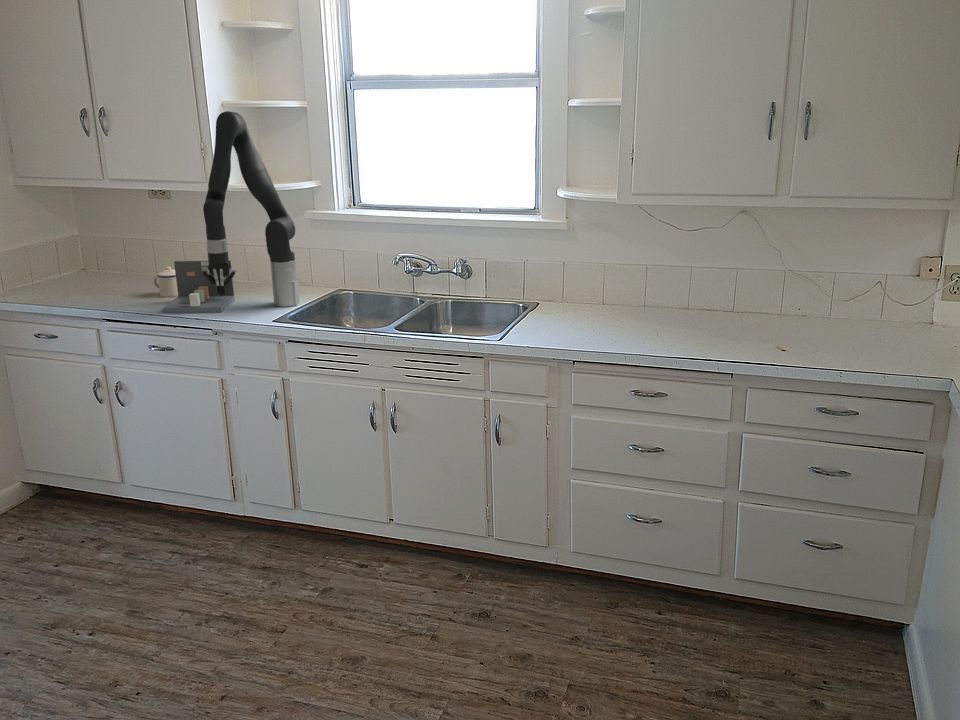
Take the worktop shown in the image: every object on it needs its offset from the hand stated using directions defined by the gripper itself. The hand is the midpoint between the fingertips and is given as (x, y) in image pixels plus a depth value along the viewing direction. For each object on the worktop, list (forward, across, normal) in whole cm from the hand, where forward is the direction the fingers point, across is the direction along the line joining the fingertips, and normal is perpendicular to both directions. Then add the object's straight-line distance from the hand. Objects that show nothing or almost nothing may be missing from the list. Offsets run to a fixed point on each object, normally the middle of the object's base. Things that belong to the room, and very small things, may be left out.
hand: (221, 294), depth 339 cm
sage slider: (+2, +7, +6) cm, 9 cm away
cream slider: (+2, +7, +11) cm, 13 cm away
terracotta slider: (+2, +7, 0) cm, 7 cm away
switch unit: (+4, +8, +3) cm, 9 cm away
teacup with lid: (+4, +27, -17) cm, 32 cm away
